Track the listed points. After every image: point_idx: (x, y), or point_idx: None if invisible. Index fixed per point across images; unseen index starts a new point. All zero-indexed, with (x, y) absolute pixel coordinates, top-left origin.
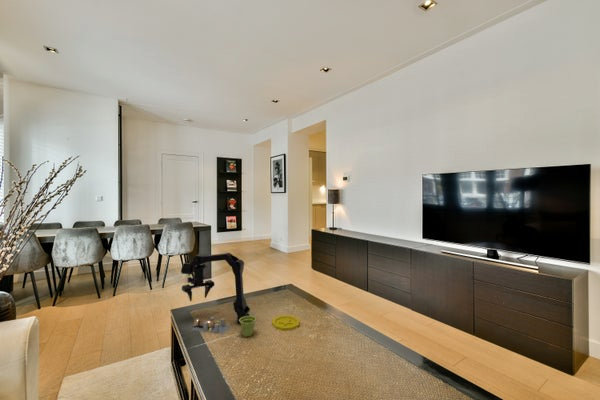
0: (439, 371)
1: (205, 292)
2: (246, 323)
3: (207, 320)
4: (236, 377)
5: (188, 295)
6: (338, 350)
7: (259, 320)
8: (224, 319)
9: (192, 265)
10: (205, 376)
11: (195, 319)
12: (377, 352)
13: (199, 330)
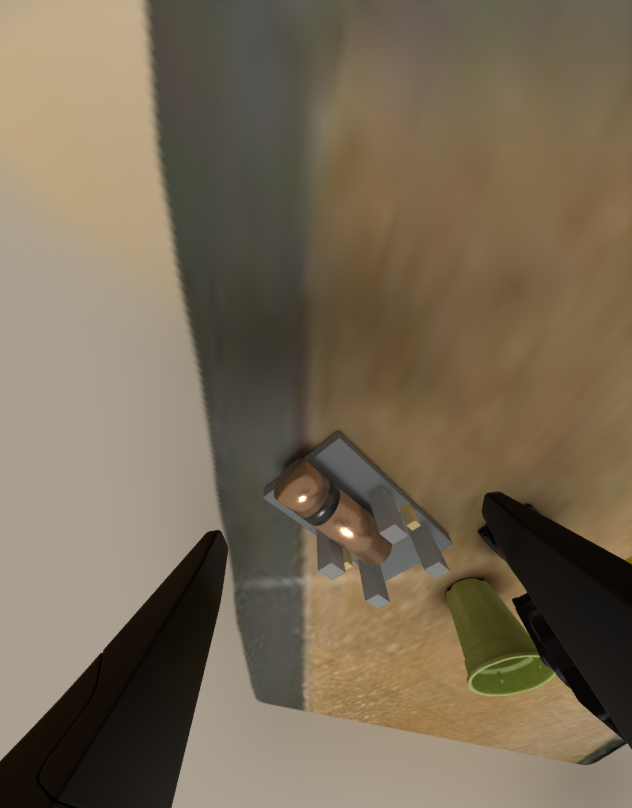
0: (616, 748)
1: (592, 622)
2: (479, 692)
3: (353, 542)
4: (328, 691)
5: (94, 687)
6: (575, 696)
7: (601, 527)
8: (442, 571)
9: None
10: (265, 676)
11: (286, 500)
12: None
13: (299, 519)
